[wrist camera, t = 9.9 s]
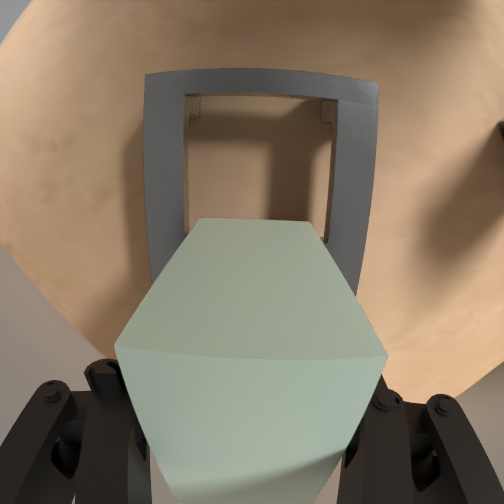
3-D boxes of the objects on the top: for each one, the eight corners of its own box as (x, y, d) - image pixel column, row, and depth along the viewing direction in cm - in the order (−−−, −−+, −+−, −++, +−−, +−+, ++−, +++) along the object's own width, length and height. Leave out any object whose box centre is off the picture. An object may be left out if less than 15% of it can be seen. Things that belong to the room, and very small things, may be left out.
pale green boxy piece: (205, 201, 16) (94, 342, 5) (305, 205, 16) (406, 353, 5) (208, 322, 19) (167, 500, 7) (292, 325, 19) (320, 506, 7)
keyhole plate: (168, 86, 15) (145, 74, 11) (354, 93, 15) (377, 83, 11) (179, 344, 21) (168, 378, 18) (323, 349, 21) (333, 384, 18)
